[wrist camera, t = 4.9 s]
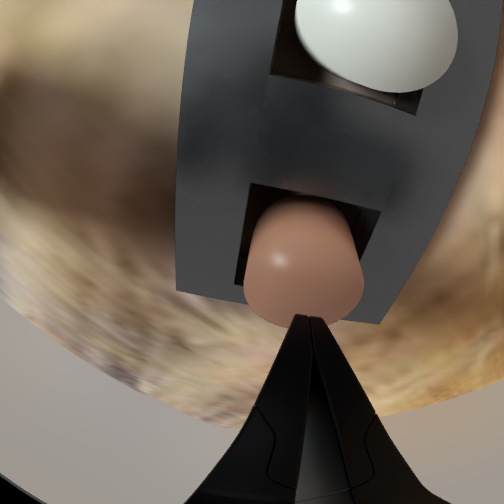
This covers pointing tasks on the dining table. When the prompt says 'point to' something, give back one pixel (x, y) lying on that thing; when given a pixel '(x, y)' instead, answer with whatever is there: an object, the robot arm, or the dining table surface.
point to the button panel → (317, 147)
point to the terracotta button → (302, 262)
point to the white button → (379, 40)
